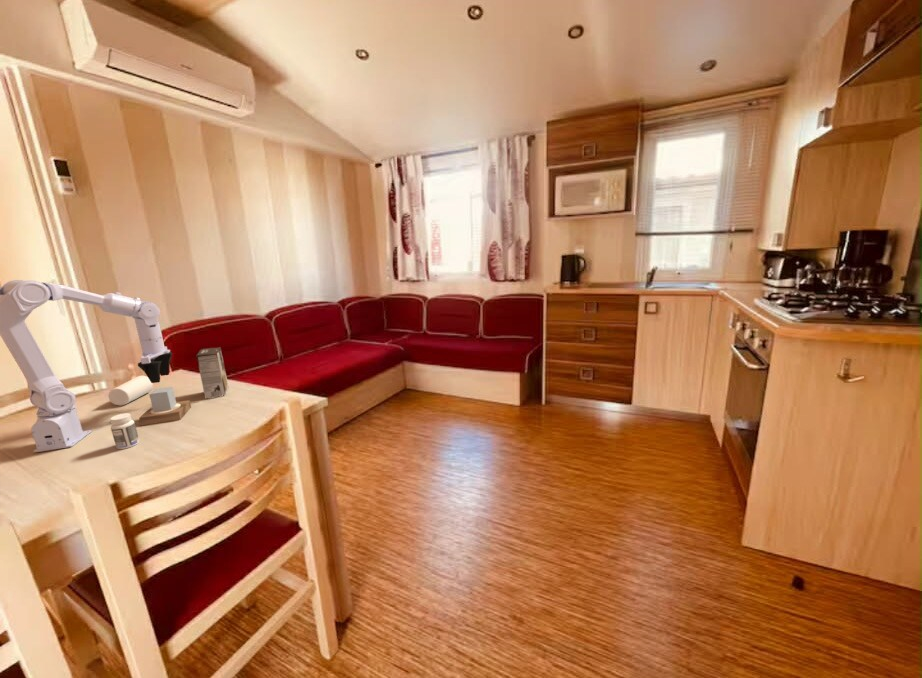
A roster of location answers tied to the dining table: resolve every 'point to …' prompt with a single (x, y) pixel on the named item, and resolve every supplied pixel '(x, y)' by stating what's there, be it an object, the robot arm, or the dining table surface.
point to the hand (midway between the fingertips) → (160, 378)
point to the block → (163, 399)
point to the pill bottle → (124, 431)
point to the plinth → (165, 414)
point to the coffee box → (212, 372)
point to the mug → (130, 390)
